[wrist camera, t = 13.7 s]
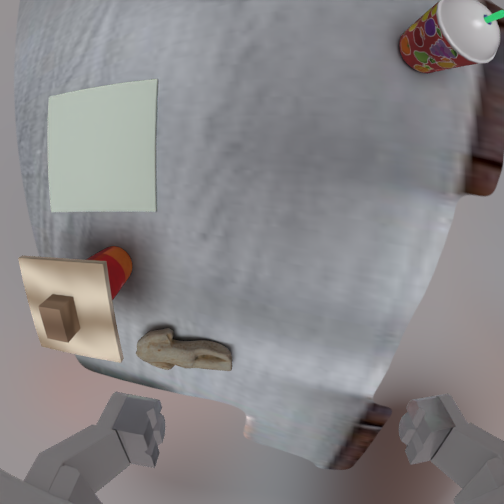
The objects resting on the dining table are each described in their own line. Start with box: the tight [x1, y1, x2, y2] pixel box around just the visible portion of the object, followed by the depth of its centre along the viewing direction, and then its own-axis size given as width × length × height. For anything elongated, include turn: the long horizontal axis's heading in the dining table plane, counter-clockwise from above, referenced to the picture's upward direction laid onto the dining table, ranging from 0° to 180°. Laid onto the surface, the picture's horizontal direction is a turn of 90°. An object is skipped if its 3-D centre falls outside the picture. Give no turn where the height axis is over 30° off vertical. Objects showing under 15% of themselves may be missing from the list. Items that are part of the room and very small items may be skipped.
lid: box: [19, 256, 124, 362], centre depth 29 cm, size 12×12×4 cm
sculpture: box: [136, 328, 232, 371], centre depth 47 cm, size 7×5×15 cm
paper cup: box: [86, 246, 132, 300], centre depth 38 cm, size 8×8×14 cm
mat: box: [48, 79, 158, 212], centre depth 39 cm, size 18×18×1 cm
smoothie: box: [399, 0, 504, 73], centre depth 24 cm, size 8×8×20 cm
